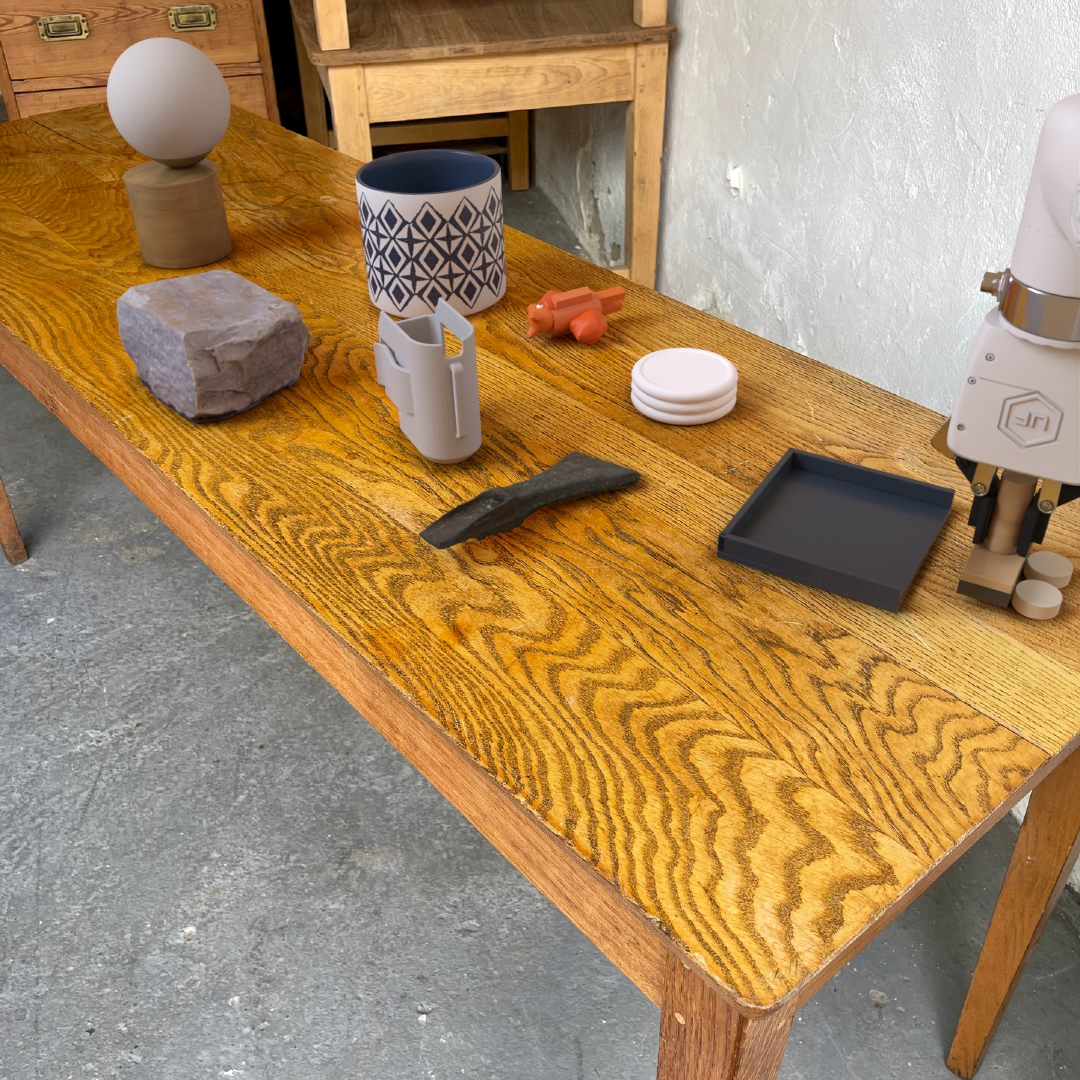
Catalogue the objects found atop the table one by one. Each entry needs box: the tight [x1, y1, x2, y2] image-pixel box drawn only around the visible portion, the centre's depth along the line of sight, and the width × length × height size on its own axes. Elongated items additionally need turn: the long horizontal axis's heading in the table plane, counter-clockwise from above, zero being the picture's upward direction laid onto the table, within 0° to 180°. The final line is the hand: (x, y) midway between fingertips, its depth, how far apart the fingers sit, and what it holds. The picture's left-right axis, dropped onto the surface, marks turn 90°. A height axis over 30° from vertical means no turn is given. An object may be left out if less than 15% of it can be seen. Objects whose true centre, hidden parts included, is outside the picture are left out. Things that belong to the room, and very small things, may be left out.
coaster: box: [630, 347, 739, 426], centre depth 105 cm, size 10×10×4 cm
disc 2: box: [1011, 579, 1064, 621], centre depth 79 cm, size 3×3×1 cm
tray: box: [716, 446, 956, 614], centre depth 87 cm, size 14×15×2 cm
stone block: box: [116, 269, 312, 425], centre depth 110 cm, size 17×12×15 cm
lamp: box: [106, 36, 233, 270], centre depth 136 cm, size 15×14×25 cm
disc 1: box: [1023, 550, 1074, 590], centre depth 82 cm, size 3×3×1 cm
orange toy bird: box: [526, 285, 627, 345], centre depth 117 cm, size 5×8×12 cm
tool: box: [418, 451, 642, 551], centre depth 90 cm, size 21×8×3 cm, turn 136°
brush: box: [955, 469, 1039, 608], centre depth 79 cm, size 4×9×8 cm, turn 149°
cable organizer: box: [372, 298, 483, 465], centre depth 97 cm, size 7×12×12 cm, turn 27°
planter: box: [354, 148, 507, 320], centre depth 124 cm, size 16×16×14 cm
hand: (1003, 539), depth 80 cm, fingers closed on brush, 2 cm apart
